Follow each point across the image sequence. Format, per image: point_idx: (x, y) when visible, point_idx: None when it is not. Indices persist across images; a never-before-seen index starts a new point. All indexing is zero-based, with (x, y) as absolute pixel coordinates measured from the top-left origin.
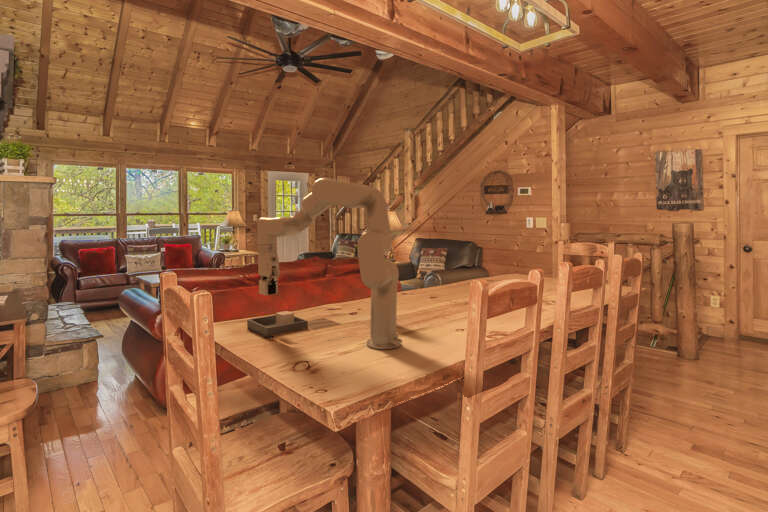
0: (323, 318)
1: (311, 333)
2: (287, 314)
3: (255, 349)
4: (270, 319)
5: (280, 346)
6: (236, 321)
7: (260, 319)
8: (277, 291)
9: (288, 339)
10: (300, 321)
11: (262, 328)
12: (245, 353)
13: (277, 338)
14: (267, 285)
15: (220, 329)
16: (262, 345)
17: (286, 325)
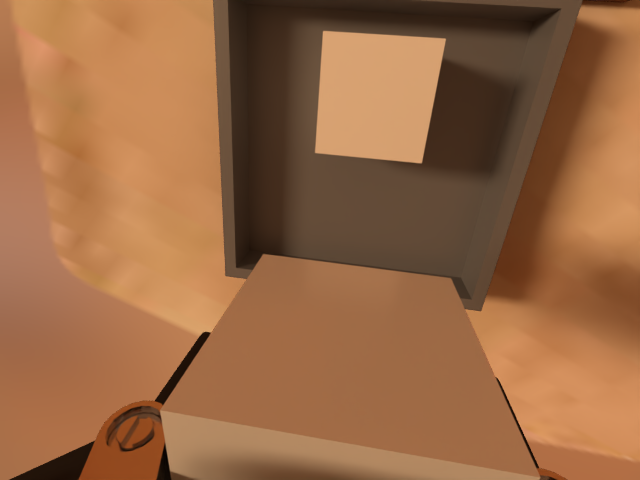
0: None
1: (627, 39)
2: (430, 111)
3: (553, 388)
4: (240, 130)
5: (628, 312)
6: (74, 212)
7: (237, 201)
8: (458, 304)
9: (578, 223)
10: (478, 9)
11: None
12: (557, 428)
13: (509, 249)
14: None
15: (179, 325)
16: (535, 347)
17: (518, 190)
